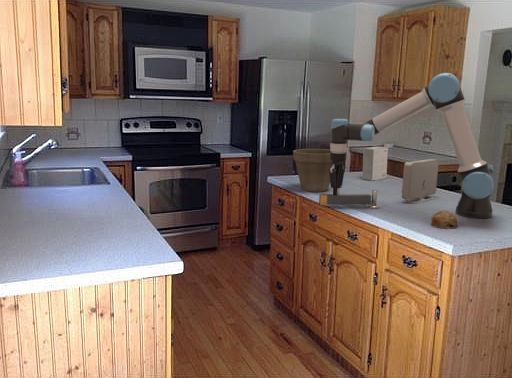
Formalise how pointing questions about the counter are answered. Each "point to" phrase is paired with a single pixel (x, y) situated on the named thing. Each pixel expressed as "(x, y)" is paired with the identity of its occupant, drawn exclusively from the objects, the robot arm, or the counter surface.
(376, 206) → the pivot post
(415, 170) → the network device
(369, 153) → the hard drive box
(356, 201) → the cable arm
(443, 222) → the bread roll
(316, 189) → the plant pot
